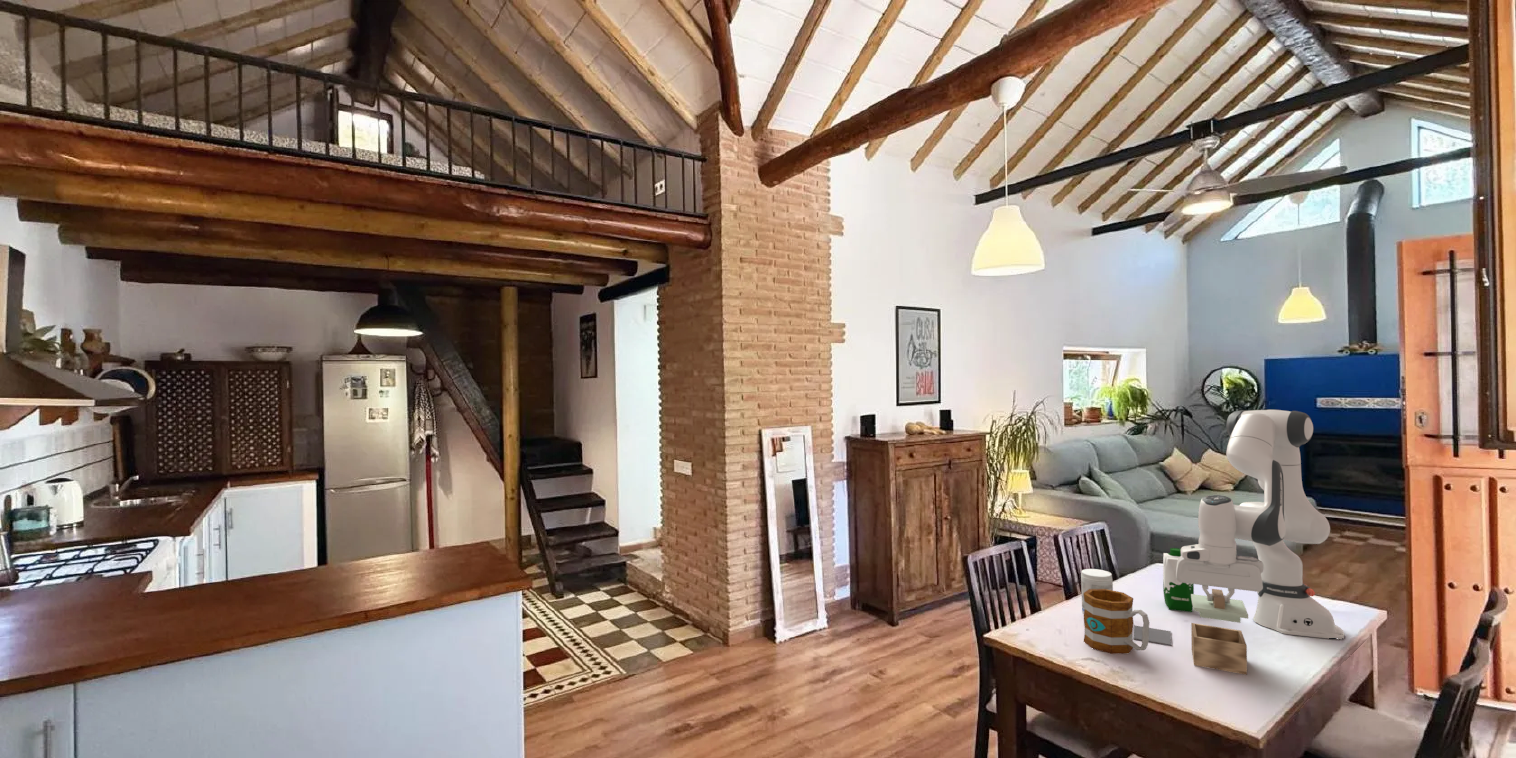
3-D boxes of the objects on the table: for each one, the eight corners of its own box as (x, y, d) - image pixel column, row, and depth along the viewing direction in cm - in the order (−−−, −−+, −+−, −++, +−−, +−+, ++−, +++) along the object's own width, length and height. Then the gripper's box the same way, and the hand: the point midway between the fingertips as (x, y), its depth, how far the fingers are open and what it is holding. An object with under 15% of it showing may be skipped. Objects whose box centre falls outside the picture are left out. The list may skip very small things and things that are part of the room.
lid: (1242, 610, 188) (1242, 590, 187) (1248, 625, 177) (1248, 604, 177) (1191, 603, 194) (1190, 583, 194) (1193, 618, 183) (1193, 596, 183)
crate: (1241, 658, 187) (1241, 630, 187) (1246, 674, 177) (1246, 645, 177) (1191, 649, 194) (1191, 622, 194) (1194, 665, 183) (1193, 636, 183)
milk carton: (1190, 605, 231) (1189, 548, 230) (1196, 613, 222) (1195, 555, 222) (1161, 601, 234) (1161, 546, 234) (1166, 610, 226) (1165, 553, 225)
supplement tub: (1119, 616, 220) (1118, 573, 220) (1103, 623, 215) (1103, 578, 215) (1091, 608, 228) (1090, 566, 228) (1075, 614, 223) (1075, 571, 223)
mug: (1073, 640, 201) (1073, 592, 201) (1104, 633, 207) (1104, 586, 206) (1132, 666, 183) (1131, 613, 183) (1164, 657, 188) (1163, 606, 188)
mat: (1170, 632, 206) (1170, 631, 206) (1171, 646, 196) (1171, 644, 196) (1134, 626, 212) (1134, 625, 212) (1133, 639, 201) (1133, 638, 201)
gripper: (1261, 555, 183) (1262, 604, 183) (1175, 546, 193) (1175, 592, 193) (1265, 561, 177) (1265, 611, 177) (1175, 552, 188) (1176, 599, 188)
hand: (1218, 601), depth 185 cm, fingers closed on lid, 2 cm apart
